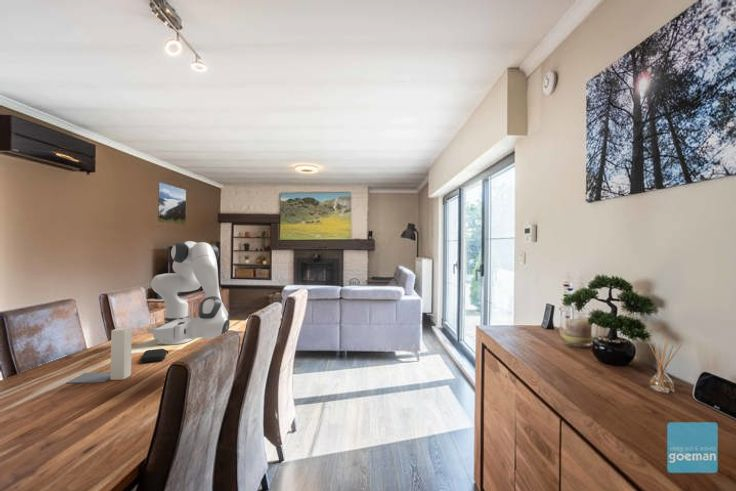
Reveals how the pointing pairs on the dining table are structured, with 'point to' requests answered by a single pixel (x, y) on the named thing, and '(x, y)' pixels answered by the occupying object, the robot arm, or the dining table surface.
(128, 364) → the cream block
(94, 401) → the dining table surface
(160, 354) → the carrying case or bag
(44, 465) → the dining table surface
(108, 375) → the slate mat
